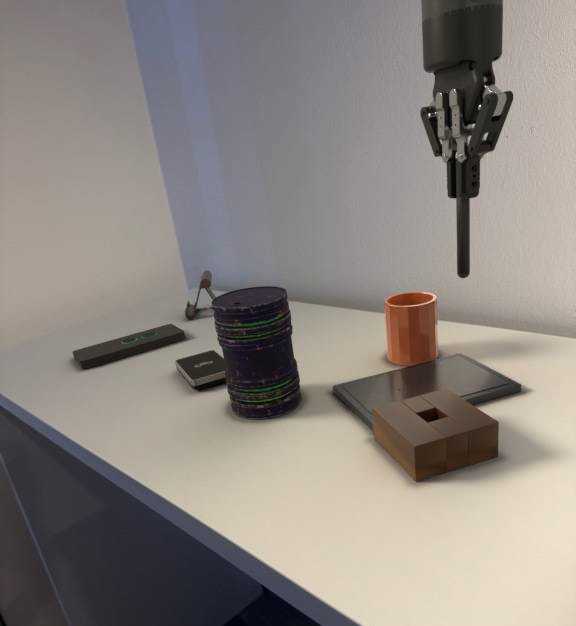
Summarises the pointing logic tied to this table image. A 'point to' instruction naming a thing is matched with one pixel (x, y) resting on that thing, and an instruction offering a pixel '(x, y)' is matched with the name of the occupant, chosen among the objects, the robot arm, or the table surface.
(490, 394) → the tablet
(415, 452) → the pen stand
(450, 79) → the robot arm
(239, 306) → the storage jar
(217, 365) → the external hard drive
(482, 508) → the table surface
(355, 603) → the table surface
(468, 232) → the stylus
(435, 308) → the pen cup
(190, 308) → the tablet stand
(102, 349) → the smart home device
